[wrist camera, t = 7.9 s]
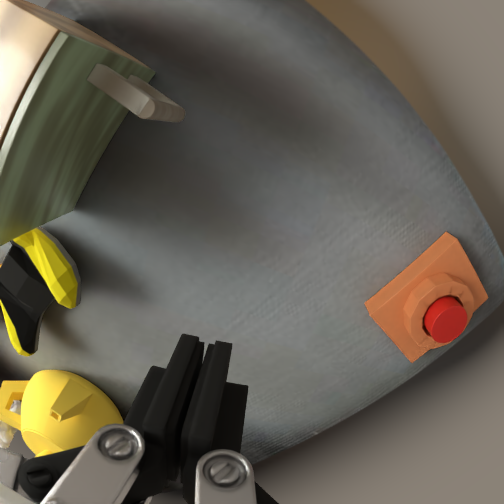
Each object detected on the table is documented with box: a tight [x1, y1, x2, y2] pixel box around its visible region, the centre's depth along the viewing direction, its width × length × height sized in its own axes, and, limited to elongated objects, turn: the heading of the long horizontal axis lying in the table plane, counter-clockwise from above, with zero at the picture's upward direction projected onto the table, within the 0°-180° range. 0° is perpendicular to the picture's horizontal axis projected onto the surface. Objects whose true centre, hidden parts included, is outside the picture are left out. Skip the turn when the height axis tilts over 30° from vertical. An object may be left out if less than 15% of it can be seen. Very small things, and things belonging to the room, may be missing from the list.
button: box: [424, 296, 467, 343], centre depth 23 cm, size 4×4×2 cm
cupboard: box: [0, 0, 149, 151], centre depth 17 cm, size 11×15×13 cm
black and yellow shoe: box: [0, 227, 81, 356], centre depth 27 cm, size 15×6×10 cm
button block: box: [365, 232, 488, 363], centre depth 25 cm, size 10×8×4 cm
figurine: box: [0, 400, 22, 449], centre depth 33 cm, size 10×5×12 cm, turn 153°
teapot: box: [0, 370, 124, 457], centre depth 31 cm, size 17×17×12 cm
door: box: [0, 31, 185, 246], centre depth 19 cm, size 6×15×12 cm, turn 142°
